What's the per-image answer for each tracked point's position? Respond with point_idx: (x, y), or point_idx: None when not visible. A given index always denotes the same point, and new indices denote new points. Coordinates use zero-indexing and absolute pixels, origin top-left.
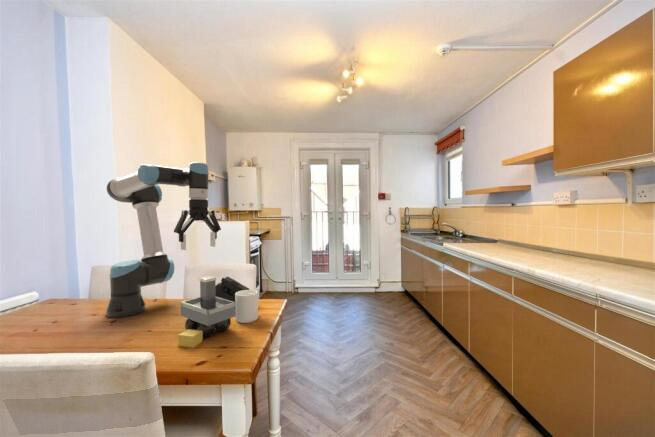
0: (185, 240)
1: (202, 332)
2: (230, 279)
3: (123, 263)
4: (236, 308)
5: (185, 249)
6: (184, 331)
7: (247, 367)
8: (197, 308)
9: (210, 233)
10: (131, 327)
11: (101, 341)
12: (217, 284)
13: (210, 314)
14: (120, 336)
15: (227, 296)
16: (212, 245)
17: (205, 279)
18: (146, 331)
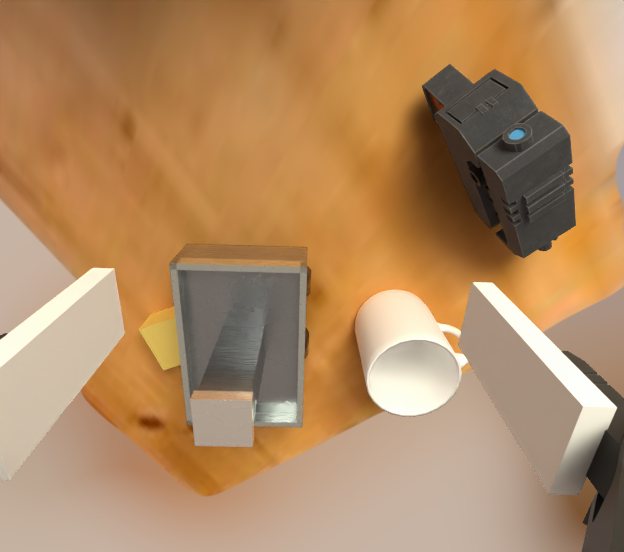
0: (63, 403)
1: None
2: (545, 172)
3: None
4: (361, 337)
5: (117, 335)
6: (162, 322)
7: (203, 494)
8: (182, 371)
9: (562, 391)
10: (85, 17)
11: None
12: (482, 117)
13: None
14: (34, 86)
15: (467, 175)
16: (467, 329)
17: (196, 440)
18: (117, 123)
